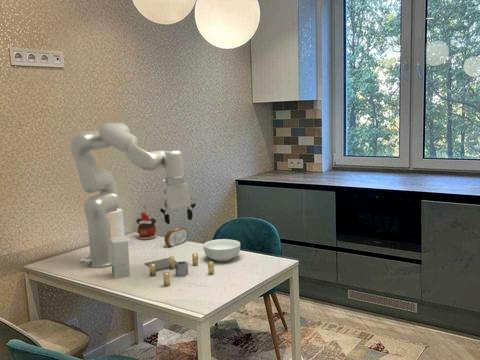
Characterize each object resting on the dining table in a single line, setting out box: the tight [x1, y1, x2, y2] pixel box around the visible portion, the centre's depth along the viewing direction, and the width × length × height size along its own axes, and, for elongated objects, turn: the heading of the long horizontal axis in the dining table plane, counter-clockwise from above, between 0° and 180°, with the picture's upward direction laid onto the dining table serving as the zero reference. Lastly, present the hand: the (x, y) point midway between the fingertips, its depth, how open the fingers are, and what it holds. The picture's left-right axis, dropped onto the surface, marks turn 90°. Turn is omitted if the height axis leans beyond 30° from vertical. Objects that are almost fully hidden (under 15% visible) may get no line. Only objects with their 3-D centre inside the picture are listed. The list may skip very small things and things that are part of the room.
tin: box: [164, 226, 189, 247], centre depth 238 cm, size 15×3×8 cm, turn 144°
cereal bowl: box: [203, 238, 241, 262], centre depth 212 cm, size 17×17×7 cm
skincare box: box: [110, 235, 131, 279], centre depth 196 cm, size 8×7×16 cm
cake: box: [135, 204, 157, 240], centre depth 252 cm, size 11×9×18 cm
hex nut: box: [174, 260, 189, 278], centre depth 194 cm, size 4×5×5 cm
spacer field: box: [148, 252, 215, 287], centre depth 195 cm, size 22×19×5 cm
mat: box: [144, 257, 178, 272], centre depth 208 cm, size 12×12×1 cm
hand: (179, 221), depth 193 cm, fingers open, 9 cm apart
